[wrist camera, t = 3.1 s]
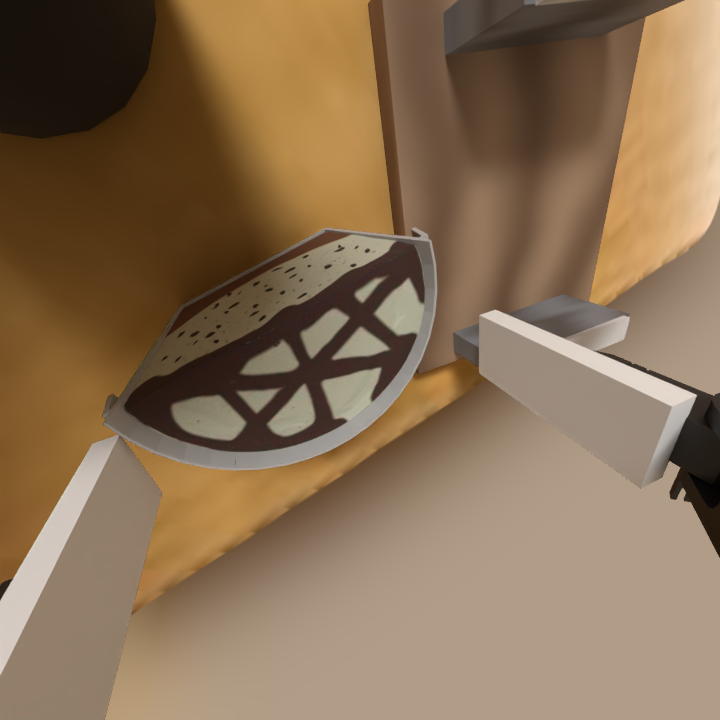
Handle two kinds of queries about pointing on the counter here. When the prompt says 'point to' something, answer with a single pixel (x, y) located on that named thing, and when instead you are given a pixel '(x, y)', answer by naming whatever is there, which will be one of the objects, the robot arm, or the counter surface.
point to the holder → (507, 154)
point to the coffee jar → (70, 62)
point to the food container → (285, 354)
